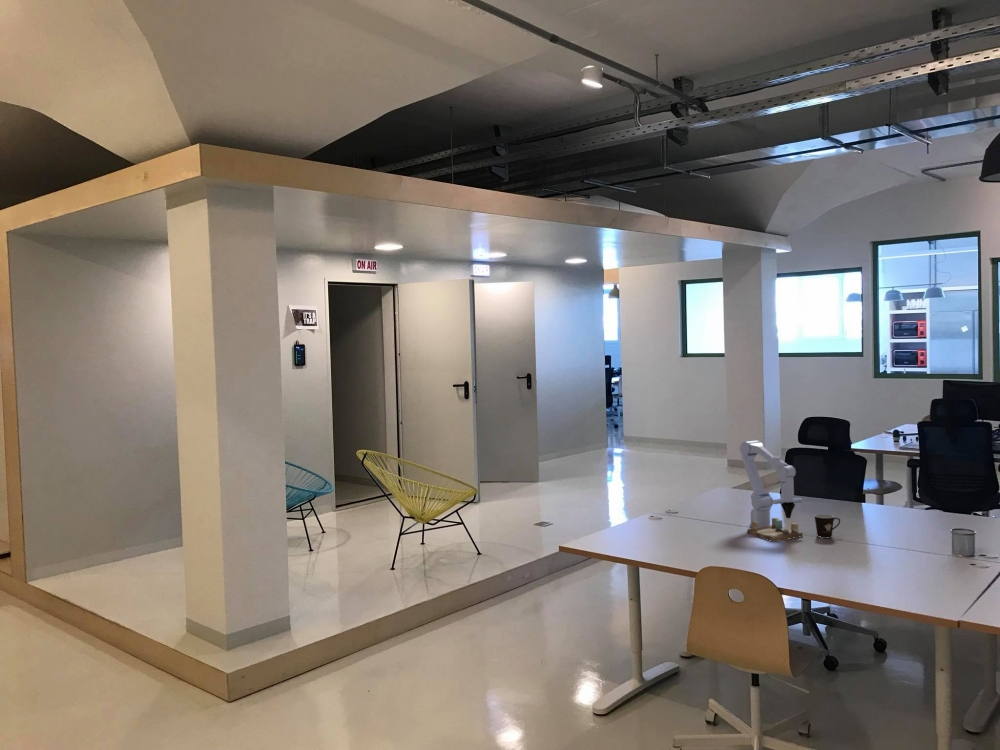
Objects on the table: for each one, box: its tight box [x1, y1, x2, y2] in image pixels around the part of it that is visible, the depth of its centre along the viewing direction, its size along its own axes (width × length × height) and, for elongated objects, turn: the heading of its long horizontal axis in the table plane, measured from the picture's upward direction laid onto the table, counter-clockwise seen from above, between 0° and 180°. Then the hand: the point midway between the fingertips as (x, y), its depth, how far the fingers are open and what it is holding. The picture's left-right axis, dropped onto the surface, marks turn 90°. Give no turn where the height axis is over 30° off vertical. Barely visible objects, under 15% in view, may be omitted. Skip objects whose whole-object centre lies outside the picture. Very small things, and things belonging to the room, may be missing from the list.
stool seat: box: [746, 517, 803, 542], centre depth 374 cm, size 18×18×6 cm
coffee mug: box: [814, 513, 841, 538], centre depth 368 cm, size 12×9×10 cm
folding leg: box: [776, 519, 789, 533], centre depth 373 cm, size 10×3×4 cm, turn 5°
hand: (788, 517), depth 377 cm, fingers closed
